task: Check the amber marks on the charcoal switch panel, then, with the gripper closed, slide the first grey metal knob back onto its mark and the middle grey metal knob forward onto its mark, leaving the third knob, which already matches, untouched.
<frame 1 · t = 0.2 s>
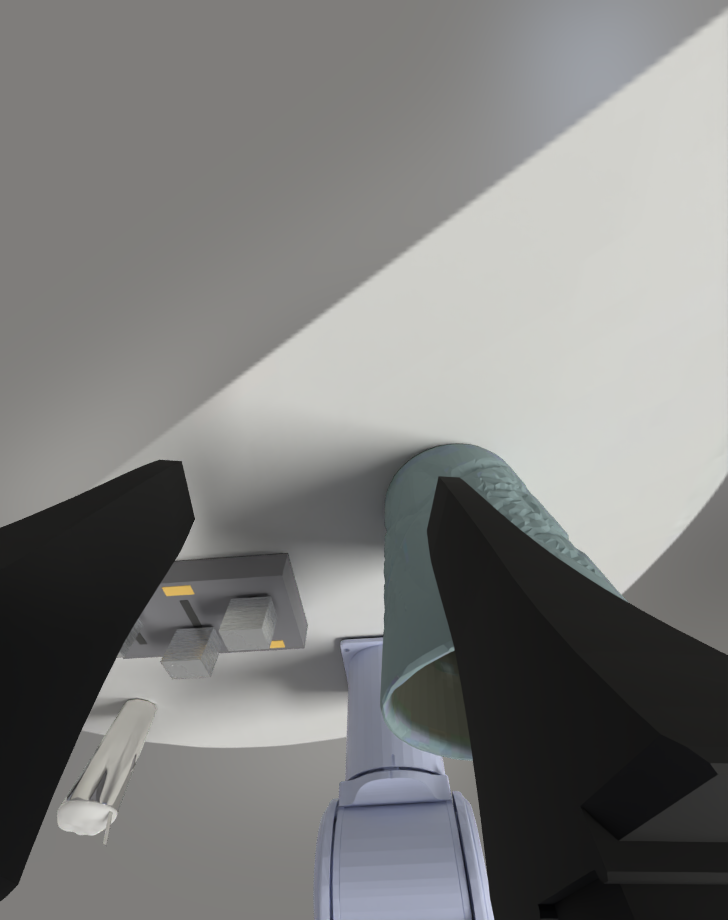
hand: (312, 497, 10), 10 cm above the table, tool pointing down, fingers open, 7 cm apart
knob c: (108, 631, 23), point 3 cm above the table, slide at 3.0 cm
knob a: (249, 623, 23), point 3 cm above the table, slide at 3.0 cm
teal plant pot: (447, 501, 22), on the table
knob b: (193, 652, 25), point 3 cm above the table, slide at 0.0 cm
milkshake: (145, 703, 36), on the table
switch panel: (205, 598, 27), on the table
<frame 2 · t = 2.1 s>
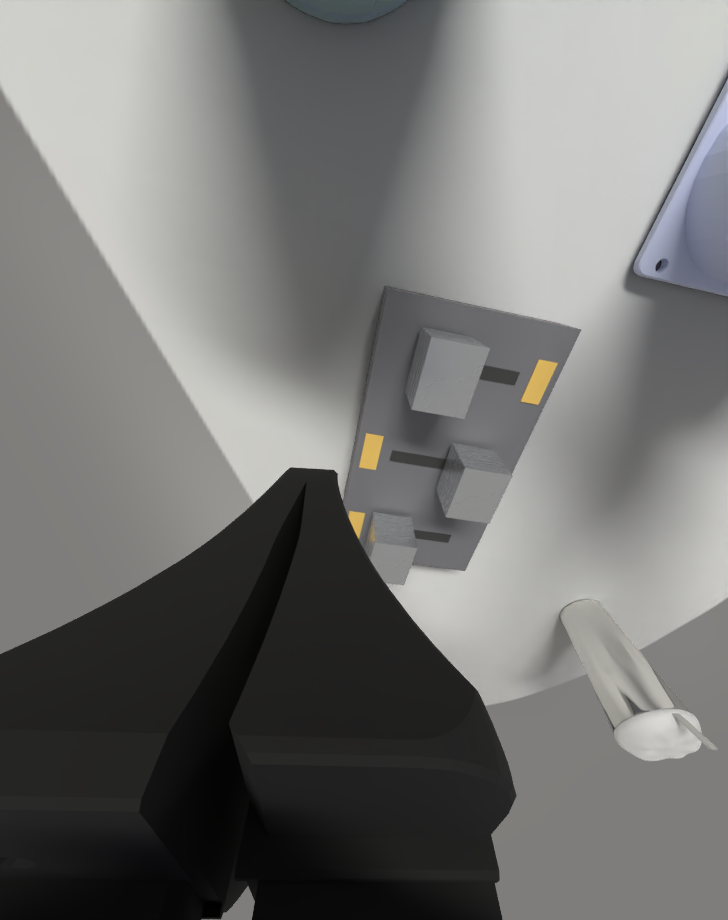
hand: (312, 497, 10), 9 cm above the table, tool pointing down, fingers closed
knob c: (388, 548, 19), point 4 cm above the table, slide at 3.0 cm
knob a: (442, 371, 14), point 4 cm above the table, slide at 3.0 cm
knob b: (470, 482, 17), point 3 cm above the table, slide at 0.0 cm
milkshake: (580, 606, 27), on the table
switch panel: (428, 444, 19), on the table
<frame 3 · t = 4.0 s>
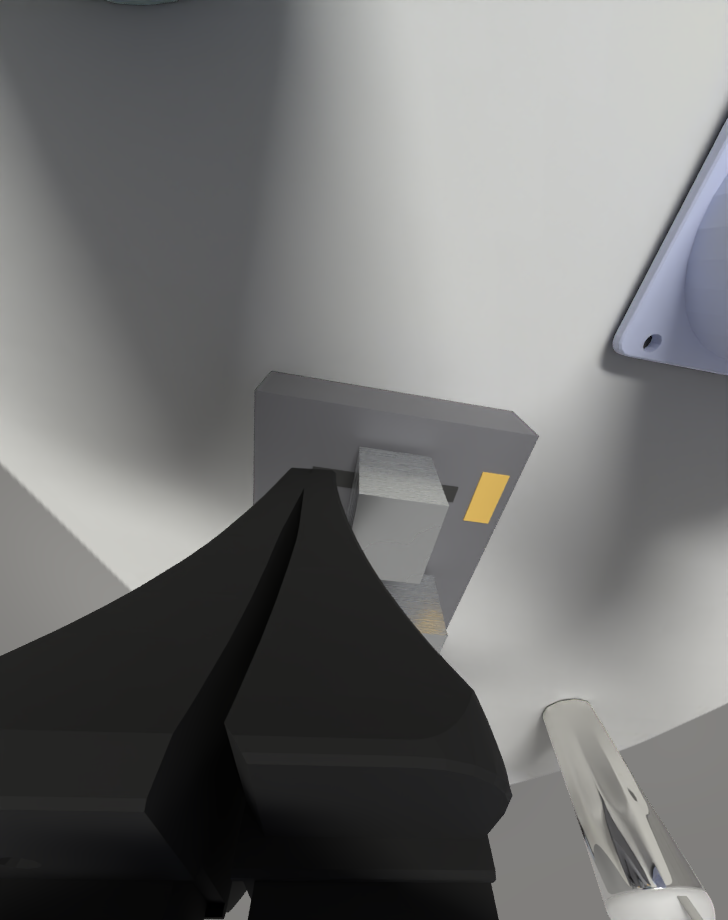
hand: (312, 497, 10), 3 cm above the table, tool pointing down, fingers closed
knob a: (388, 513, 10), point 4 cm above the table, slide at 1.5 cm, touching gripper
knob b: (400, 624, 12), point 3 cm above the table, slide at 0.0 cm
milkshake: (567, 704, 23), on the table
switch panel: (360, 549, 15), on the table
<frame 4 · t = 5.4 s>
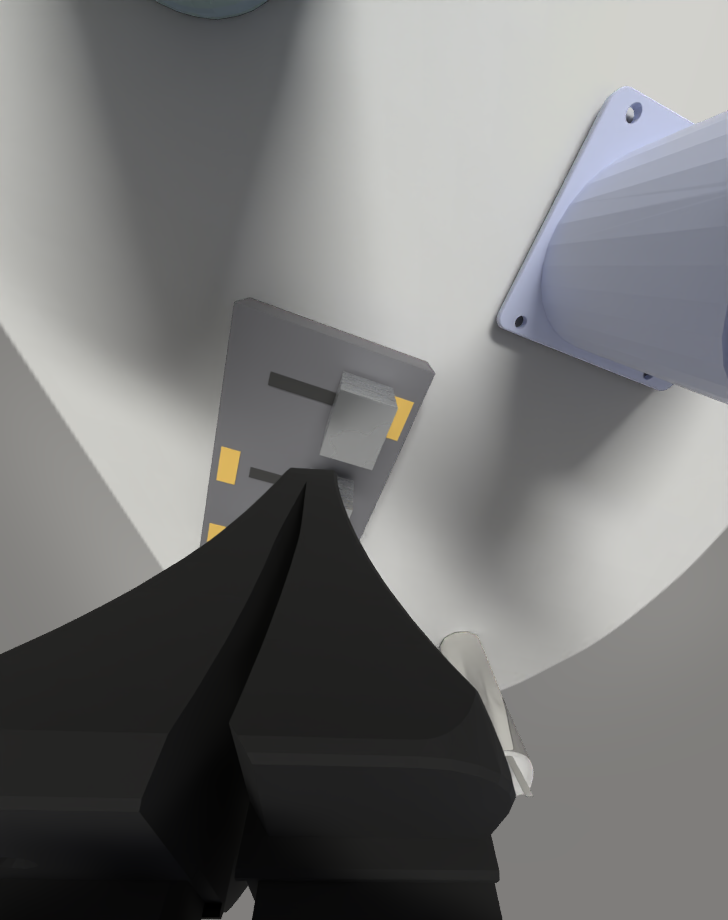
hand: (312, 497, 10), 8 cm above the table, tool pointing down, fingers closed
knob a: (357, 420, 14), point 3 cm above the table, slide at -0.1 cm
knob b: (322, 510, 16), point 3 cm above the table, slide at 0.0 cm
milkshake: (461, 637, 27), on the table
switch panel: (302, 464, 19), on the table
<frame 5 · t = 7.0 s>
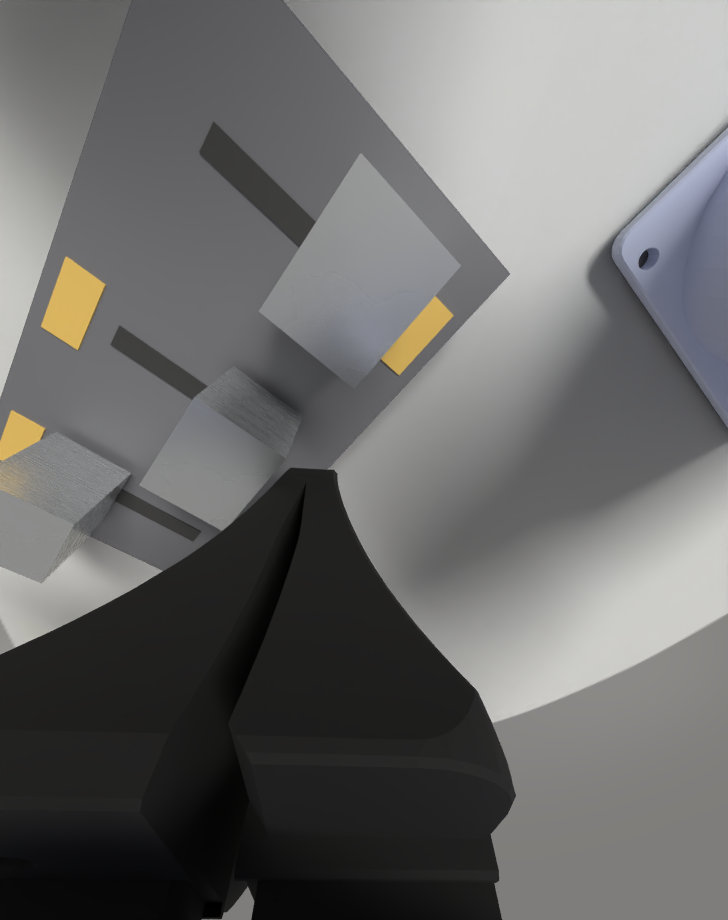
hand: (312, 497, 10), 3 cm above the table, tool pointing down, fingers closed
knob c: (49, 506, 10), point 4 cm above the table, slide at 3.0 cm
knob a: (357, 285, 7), point 3 cm above the table, slide at -0.1 cm
knob b: (229, 447, 9), point 4 cm above the table, slide at 0.0 cm, touching gripper
switch panel: (225, 373, 11), on the table
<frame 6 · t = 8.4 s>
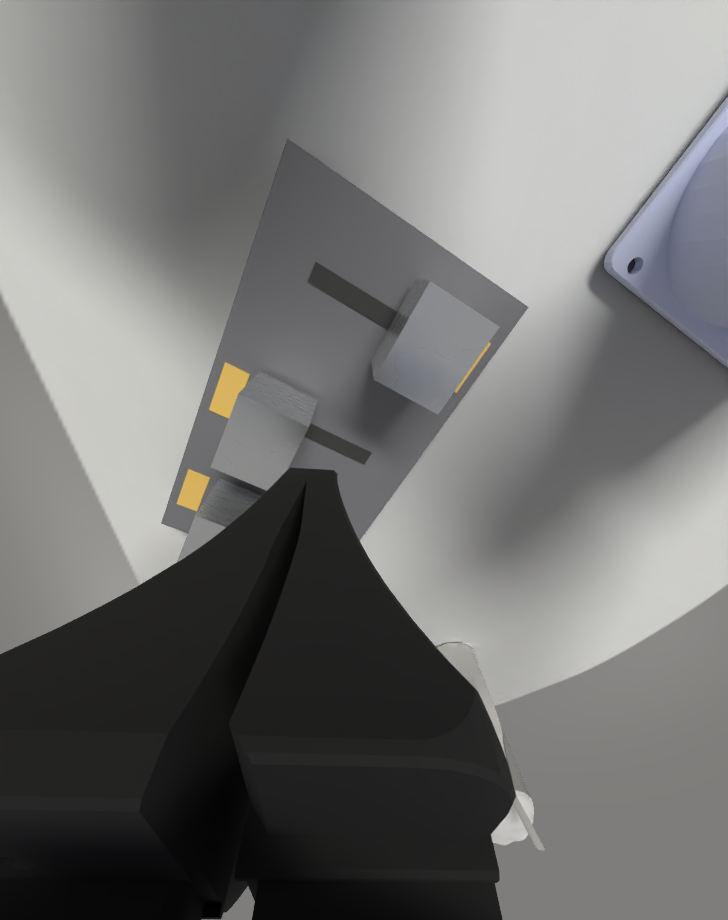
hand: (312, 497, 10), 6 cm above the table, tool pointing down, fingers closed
knob c: (225, 530, 14), point 4 cm above the table, slide at 3.0 cm
knob a: (426, 345, 10), point 3 cm above the table, slide at -0.1 cm
knob b: (267, 431, 12), point 4 cm above the table, slide at 3.1 cm
milkshake: (453, 649, 24), on the table
switch panel: (319, 413, 15), on the table
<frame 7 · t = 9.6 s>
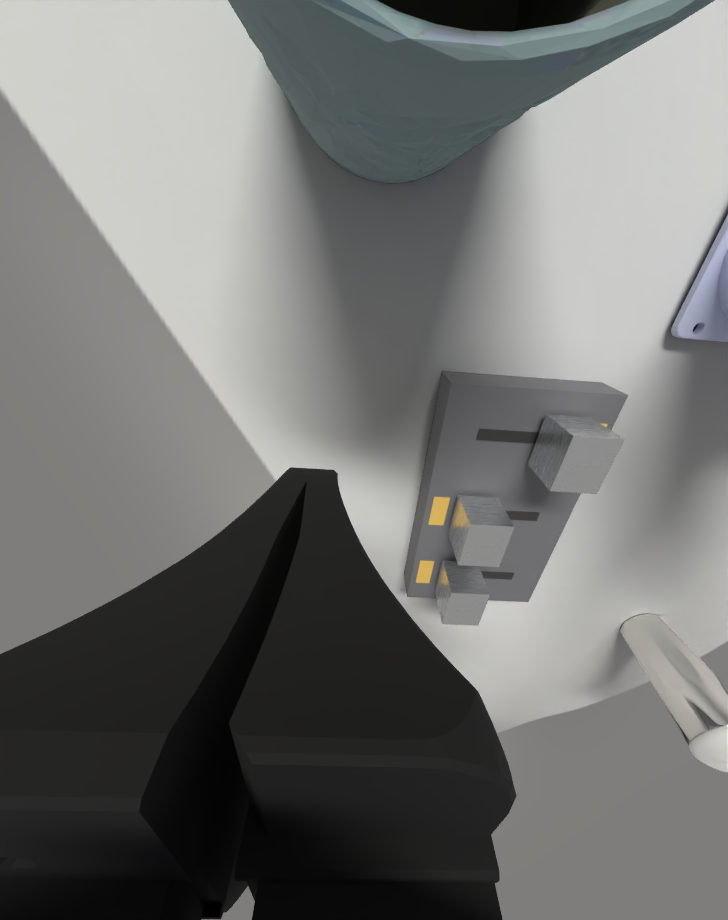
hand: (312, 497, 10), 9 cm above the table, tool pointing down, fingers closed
knob c: (460, 592, 21), point 4 cm above the table, slide at 3.0 cm
knob a: (570, 453, 16), point 3 cm above the table, slide at -0.1 cm
teal plant pot: (403, 32, 12), on the table
knob b: (478, 530, 18), point 3 cm above the table, slide at 3.1 cm
milkshake: (640, 620, 28), on the table
switch panel: (486, 494, 21), on the table
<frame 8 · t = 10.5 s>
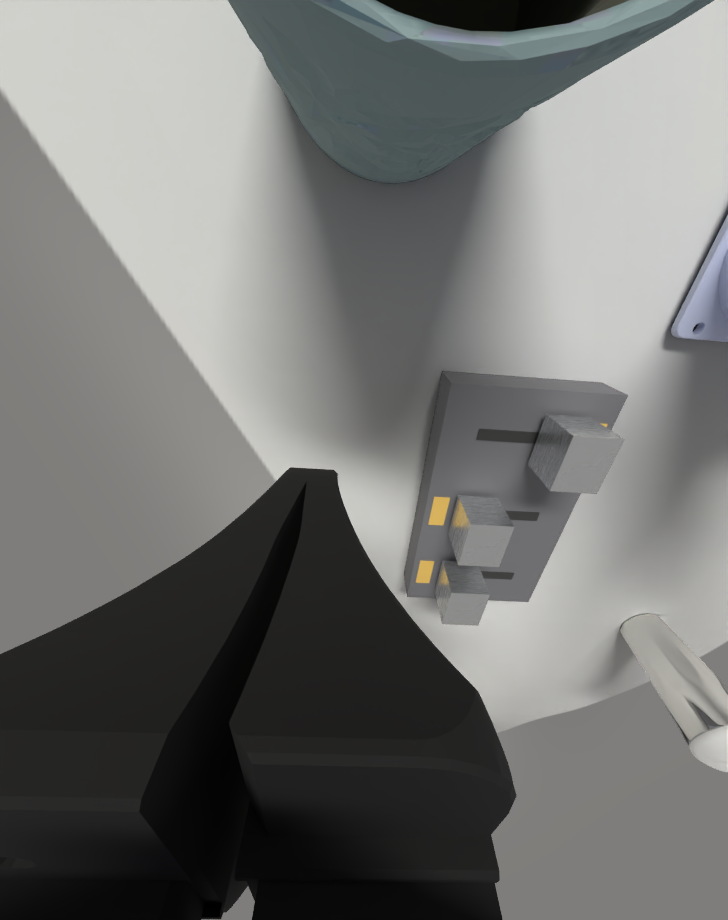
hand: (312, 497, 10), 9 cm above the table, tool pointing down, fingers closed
knob c: (460, 592, 21), point 4 cm above the table, slide at 3.0 cm
knob a: (570, 453, 16), point 4 cm above the table, slide at -0.1 cm
teal plant pot: (403, 32, 12), on the table
knob b: (478, 530, 18), point 4 cm above the table, slide at 3.1 cm
milkshake: (640, 620, 28), on the table
switch panel: (486, 494, 21), on the table
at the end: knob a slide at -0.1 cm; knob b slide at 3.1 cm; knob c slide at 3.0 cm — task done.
